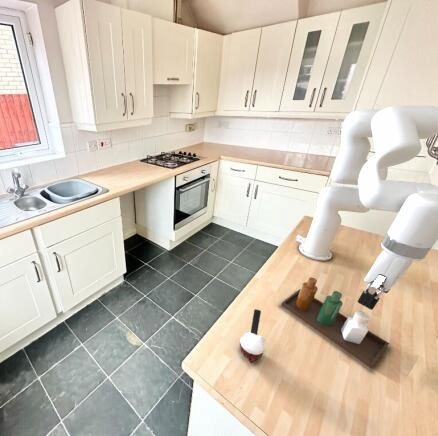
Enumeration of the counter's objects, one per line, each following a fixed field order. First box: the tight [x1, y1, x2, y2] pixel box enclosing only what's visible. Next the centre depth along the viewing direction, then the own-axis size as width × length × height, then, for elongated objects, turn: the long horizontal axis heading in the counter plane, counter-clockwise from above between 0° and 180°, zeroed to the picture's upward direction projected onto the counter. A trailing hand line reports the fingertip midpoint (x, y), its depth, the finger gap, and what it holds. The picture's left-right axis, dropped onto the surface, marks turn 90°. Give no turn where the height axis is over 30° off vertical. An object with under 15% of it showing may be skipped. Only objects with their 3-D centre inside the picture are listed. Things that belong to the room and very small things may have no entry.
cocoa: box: [239, 308, 265, 364], centre depth 66 cm, size 10×6×12 cm, turn 136°
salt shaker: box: [341, 310, 371, 344], centre depth 70 cm, size 4×4×10 cm
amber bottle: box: [295, 276, 319, 311], centre depth 80 cm, size 4×4×12 cm
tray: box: [280, 288, 390, 369], centre depth 76 cm, size 25×11×2 cm, turn 33°
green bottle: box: [317, 290, 344, 326], centre depth 74 cm, size 4×4×12 cm
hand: (372, 297), depth 65 cm, fingers open, 9 cm apart
